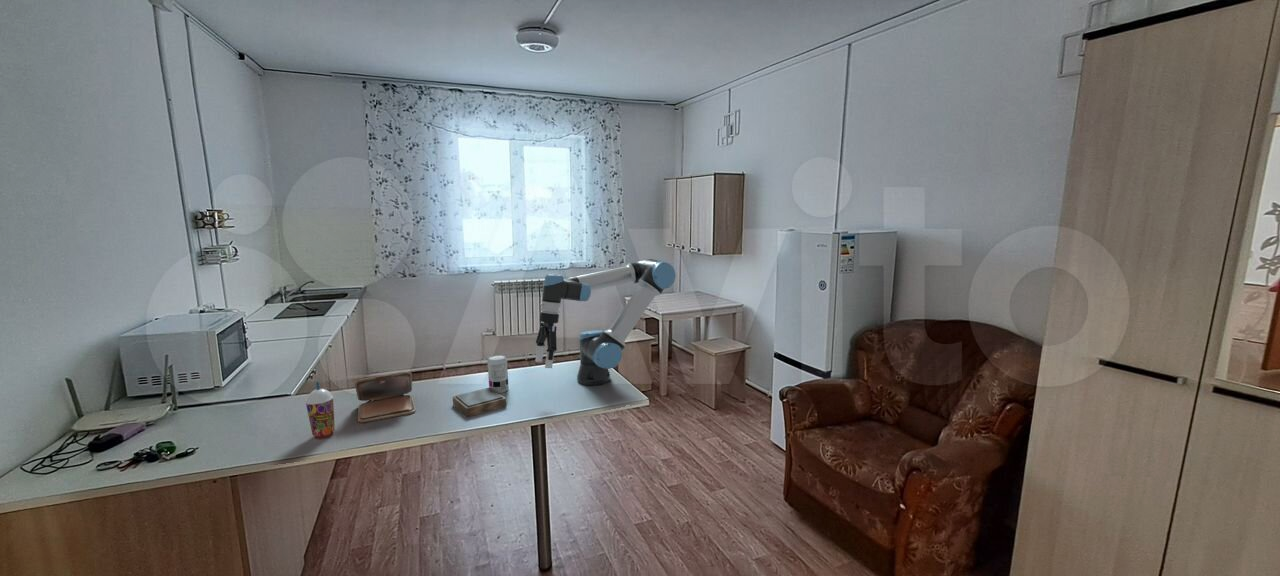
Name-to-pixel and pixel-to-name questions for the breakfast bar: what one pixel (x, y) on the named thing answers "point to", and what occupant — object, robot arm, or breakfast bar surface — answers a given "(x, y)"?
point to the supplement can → (498, 373)
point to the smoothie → (321, 412)
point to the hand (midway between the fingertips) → (543, 364)
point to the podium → (479, 401)
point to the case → (384, 396)
